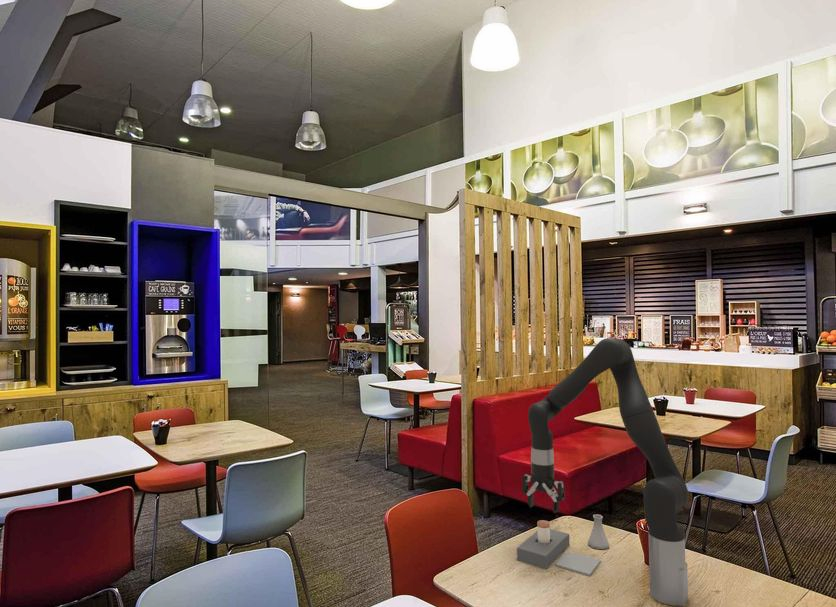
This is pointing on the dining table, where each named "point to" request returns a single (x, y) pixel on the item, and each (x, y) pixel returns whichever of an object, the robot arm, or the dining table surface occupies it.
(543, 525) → the plug
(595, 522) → the flask
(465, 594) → the dining table surface
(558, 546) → the grey socket block
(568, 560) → the mat
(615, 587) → the dining table surface
